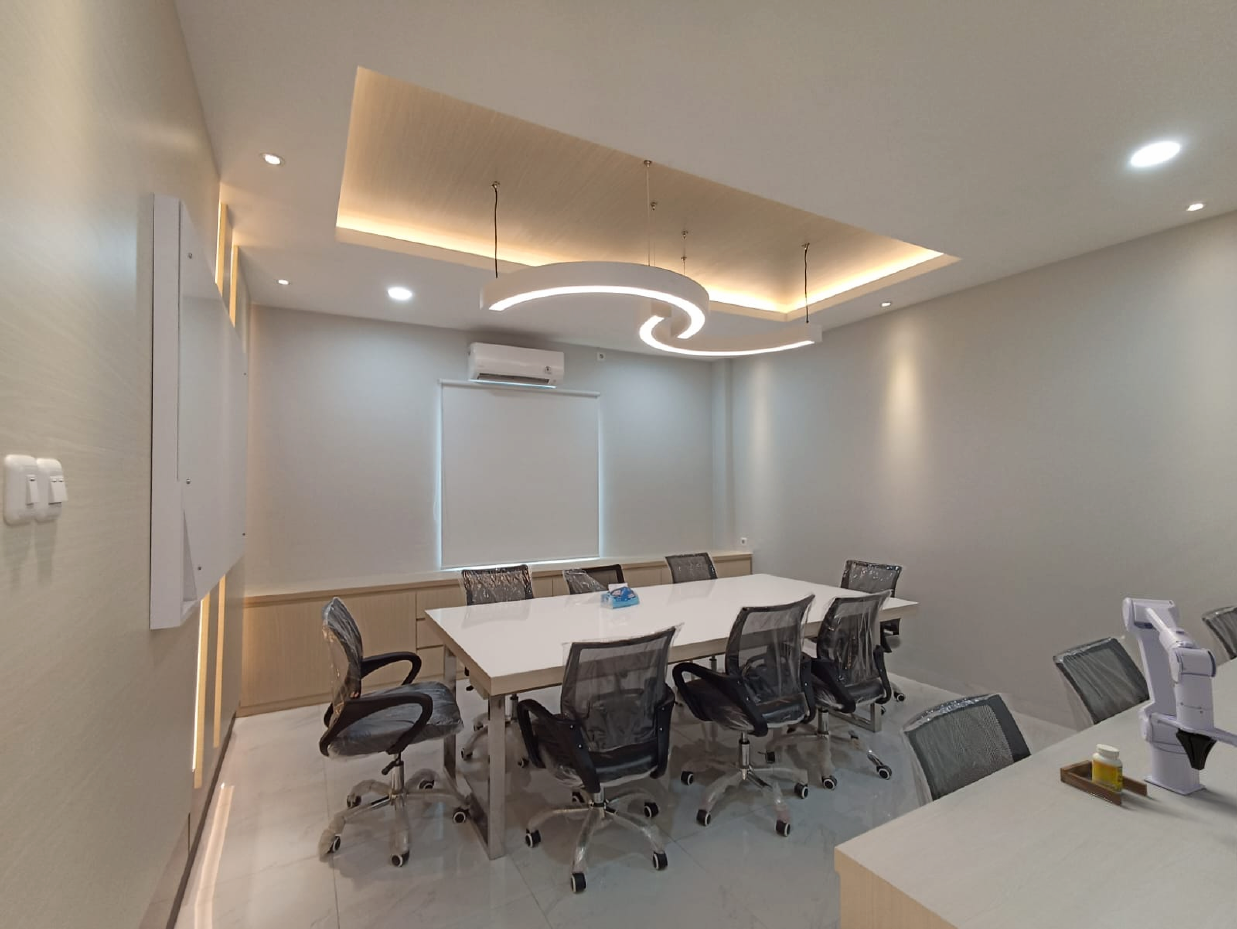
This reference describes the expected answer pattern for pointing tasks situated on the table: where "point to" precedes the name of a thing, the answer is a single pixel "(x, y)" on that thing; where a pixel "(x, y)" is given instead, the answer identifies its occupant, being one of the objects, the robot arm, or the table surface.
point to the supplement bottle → (1107, 768)
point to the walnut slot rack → (1085, 768)
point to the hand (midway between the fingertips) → (1197, 768)
